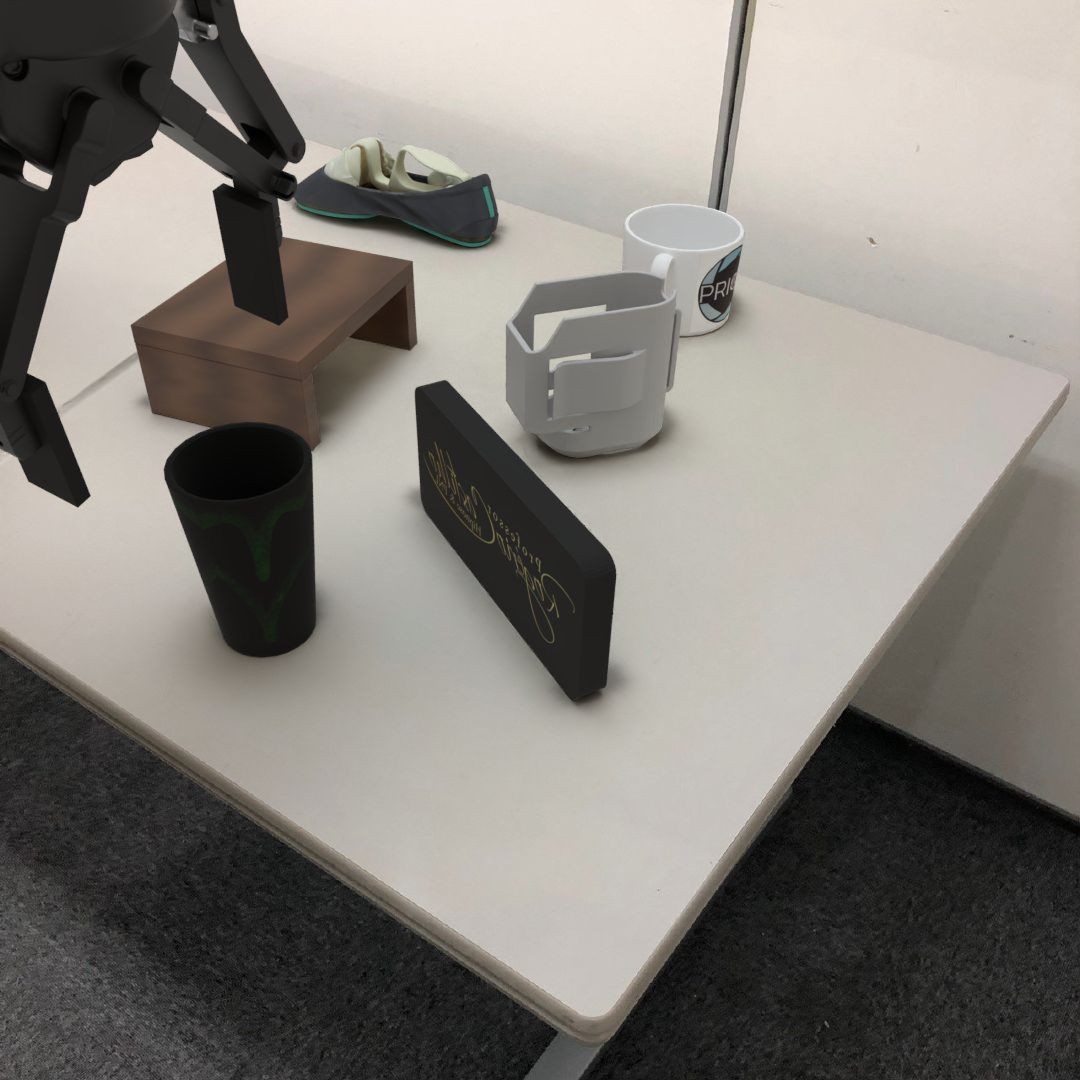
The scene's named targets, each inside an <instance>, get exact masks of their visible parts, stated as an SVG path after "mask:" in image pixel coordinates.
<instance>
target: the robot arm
mask: <svg viewBox="0 0 1080 1080" xmlns="http://www.w3.org/2000/svg"><path fill="white" fill-rule="evenodd" d="M179 44H180V46H181V47H182V49H183V50H184V51H185V53H186V55H187V56H188V58H189V59H190V61H191V62H192V64H193V65H194V67H195V68H196V70H197V72H199V75H201V77H202V79H203V80H204V81H205V83H206V84H207V86H208V87H209V89H210V90H211V92H212V94H213V95H214V96H215V98H216V99H217V101H218V102H219V104H220V106H221V107H222V108H223V110H224V111H225V113H226V114H227V116H228V118H229V119H230V120H231V122H232V124H233V125H234V126H235V127H236V129H237V131H238V132H239V134H240V135H241V137H242V138H243V139H242V138H240V137H239V136H238V135H236V134H235V133H234V132H232V131H231V130H230V129H228V128H227V127H226V126H225V125H224V124H222V123H221V122H220V121H218V120H217V119H216V118H215V117H213V116H211V114H209V113H207V112H208V108H206V107H205V106H204V105H203V104H201V102H199V101H197V100H196V99H195V98H193V97H192V96H191V95H190V94H189V93H188V92H186V91H185V90H183V89H182V88H181V87H179V86H178V85H177V84H176V83H175V82H174V80H173V79H172V74H173V70H174V66H175V62H176V57H177V52H178V49H179ZM157 132H160V133H161V134H163V135H164V136H165V137H167V138H168V139H169V140H171V141H173V142H174V143H176V144H177V145H178V146H180V147H181V148H183V149H184V150H186V151H187V152H188V153H190V154H192V155H193V156H195V157H196V158H198V159H199V160H200V161H201V162H203V163H205V164H206V165H208V166H209V167H211V168H212V169H213V170H215V171H216V172H218V173H219V174H221V175H222V176H223V177H225V178H227V179H229V180H231V181H232V184H233V186H232V185H229V184H227V183H224V182H222V183H221V184H220V185H218V186H216V187H215V188H214V189H213V190H211V191H212V196H213V201H214V206H215V212H216V216H217V223H218V227H219V232H220V238H221V243H222V248H223V253H224V258H225V259H224V260H226V264H227V269H228V275H229V280H230V285H231V290H232V295H233V301H234V306H236V307H238V308H240V309H242V310H245V311H247V312H249V313H251V314H254V315H256V316H258V317H260V318H263V319H265V320H267V321H269V322H272V323H274V324H276V325H278V326H280V325H281V324H282V323H283V322H284V321H285V320H286V319H287V318H289V317H288V310H287V303H286V296H285V289H284V282H283V275H282V268H281V261H280V254H279V247H280V246H281V244H282V237H284V236H283V235H284V234H283V227H282V219H281V213H280V206H279V205H280V204H279V200H281V201H283V202H286V203H287V202H290V201H291V200H292V199H294V198H293V197H294V195H295V193H296V190H297V184H298V178H297V177H296V175H294V174H292V173H290V172H287V171H285V170H284V169H285V168H286V166H288V163H291V164H293V165H297V164H299V163H300V162H301V161H302V160H303V158H304V157H305V154H306V151H307V150H306V149H307V147H306V146H307V143H306V139H305V137H304V136H303V134H302V132H300V129H299V127H298V126H297V125H296V122H295V121H294V119H293V117H292V115H291V113H290V112H289V111H288V109H287V107H286V105H285V104H284V101H283V100H282V98H281V97H280V95H279V93H278V92H277V90H276V88H275V87H274V85H273V83H272V81H271V80H270V78H269V76H268V74H267V73H266V71H265V69H264V68H263V66H262V64H261V62H260V61H259V59H258V57H257V55H256V53H255V52H254V50H253V48H252V47H251V45H250V44H249V41H248V40H247V38H246V37H245V35H244V34H243V32H242V29H241V23H240V21H239V16H238V12H237V8H236V4H235V0H0V450H1V451H3V452H6V454H9V455H11V456H13V457H15V458H16V459H17V461H18V462H19V464H20V467H21V469H22V471H23V473H24V475H25V477H26V480H27V482H28V483H30V484H32V485H33V486H36V487H38V488H40V489H41V490H43V491H45V492H47V493H49V494H51V495H53V496H55V497H56V498H58V499H61V500H62V501H64V502H66V503H68V504H70V505H72V506H74V507H76V508H80V506H82V505H83V504H84V503H85V502H86V501H87V500H88V499H89V498H91V496H92V495H91V493H90V491H89V488H88V485H87V482H86V479H85V478H84V474H83V472H82V470H81V467H80V465H79V462H78V460H77V458H76V455H75V452H74V450H73V448H72V445H71V442H70V440H69V437H68V435H67V431H66V429H65V428H64V424H63V422H62V420H61V417H60V415H59V412H58V410H57V407H56V405H55V402H54V400H53V396H52V394H51V392H50V389H49V387H48V384H47V382H46V381H44V380H42V379H41V378H38V377H37V376H34V375H32V374H30V373H28V371H29V367H30V364H31V360H32V356H33V353H34V350H35V349H34V348H35V345H36V343H37V342H36V341H37V337H38V335H39V330H40V327H41V323H42V319H43V315H44V311H45V308H46V304H47V300H48V296H49V293H50V289H51V285H52V282H53V278H54V275H55V271H56V266H57V263H58V260H59V256H60V251H61V248H62V244H63V240H64V237H65V234H66V229H67V227H68V226H69V225H70V224H73V223H76V222H78V221H79V220H80V219H81V217H82V214H83V213H84V208H85V203H86V201H87V198H88V195H89V189H90V186H91V187H96V186H98V185H99V184H101V183H103V182H104V181H106V180H107V179H109V178H110V177H111V176H112V175H113V174H114V172H116V170H117V169H118V168H119V167H120V166H121V165H122V164H123V163H124V162H125V161H129V160H133V159H136V158H139V157H142V156H143V155H144V154H146V153H147V152H149V151H151V149H154V143H153V139H154V137H155V136H156V134H157ZM25 163H28V164H30V165H31V166H33V167H34V168H36V169H37V170H39V171H41V172H43V173H45V174H46V175H47V174H48V175H50V176H51V179H50V182H49V185H48V188H45V187H43V186H40V185H39V184H36V183H33V182H31V181H29V180H27V179H26V178H25V175H24V168H25Z"/></svg>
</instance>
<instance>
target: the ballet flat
mask: <svg viewBox="0 0 1080 1080" xmlns="http://www.w3.org/2000/svg"><path fill="white" fill-rule="evenodd" d="M407 153H408V154H409V155H411V156H412V158H413V159H414V160H415V161H417V162H418V163H419V164H421V165H422V166H424V167H426V168H428V169H430V170H432V171H431V172H430V173H429V174H428V175H424V174H418V173H413V172H410V171H406V168H405V157H406V154H407ZM292 199H294V200H295V202H296V204H297V207H299V208H300V209H302V210H305V211H308V212H310V213H314V214H317V215H321V216H327V217H334V218H344V219H345V218H346V219H370V218H375V217H377V216H382V217H388V218H393V219H397V220H401V222H404V223H406V224H408V225H410V226H413V227H415V228H417V229H420V230H422V231H424V232H427V233H429V234H431V235H434V236H436V237H439V238H441V239H443V240H446V241H449V242H451V243H454V244H457V245H460V246H463V247H469V248H477V247H482V246H484V245H487V244H488V243H489V242H490V241H491V239H492V236H493V233H494V232H496V230H497V228H498V224H499V218H500V215H499V214H500V213H499V212H498V205H497V200H496V196H495V193H494V190H493V185H492V180H491V177H490V175H489V174H488V173H481V174H479V175H476V176H471V175H470V174H469V173H467V172H465V171H464V170H463V169H461V167H459V165H458V164H457V163H455V162H454V161H452V160H451V159H450V158H448V157H446V156H444V155H442V154H440V153H438V152H435V151H432V150H430V149H426V148H422V147H418V146H415V145H412V144H406V145H404V146H402V147H401V148H399V150H398V151H397V154H396V157H393V154H391V153H389V152H388V151H387V150H386V149H385V148H384V144H383V143H382V141H381V139H379V138H378V137H371V136H368V137H365V138H364V137H363V138H360V139H358V140H357V141H356V142H354V143H353V144H351V145H349V146H344V147H343V148H342V150H341V151H340V154H338V155H335V156H333V157H332V158H331V159H330V160H329V161H328V162H327V163H325V164H324V165H322V167H320V168H318V169H316V170H315V171H314V172H313V173H311V174H309V175H308V176H307V177H305V178H304V179H302V180H301V181H300V182H298V183H297V190H296V193H295V195H294V197H293V198H292Z"/></svg>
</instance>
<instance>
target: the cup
mask: <svg viewBox="0 0 1080 1080" xmlns="http://www.w3.org/2000/svg"><path fill="white" fill-rule="evenodd" d="M313 466H314V463H313V452H312V451H311V449H310V446H309V444H308V443H307V442H306V441H305V440H304V438H303V437H301V436H300V435H298V434H297V433H295V432H294V431H292V430H290V429H287V428H284V427H282V426H279V425H274V424H269V423H263V422H241V423H230V424H226V425H221V426H216V427H209V428H208V429H205V430H202V431H200V432H197V433H196V434H194V435H191V436H190V437H188V438H186V439H185V440H183V441H182V442H181V443H180V444H178V445H177V446H176V447H175V448H174V449H173V450H172V451H171V453H170V454H169V455H168V456H167V458H166V461H165V464H164V467H163V477H164V482H165V483H166V486H167V489H168V492H169V494H170V497H171V500H172V503H173V505H174V508H175V511H176V514H177V516H178V519H179V522H180V524H181V528H182V531H183V533H184V536H185V538H186V540H187V543H188V546H189V549H190V552H191V555H192V557H193V560H194V562H195V566H196V568H197V571H198V573H199V577H200V578H201V582H202V584H203V587H204V590H205V592H206V595H207V598H208V600H209V603H210V606H211V608H212V611H213V614H214V617H215V619H216V622H217V625H218V627H219V628H218V629H219V630H220V634H221V635H222V638H223V640H224V642H225V643H226V645H227V646H228V647H229V648H230V649H231V650H233V651H235V652H237V653H239V654H241V655H244V656H248V657H252V658H270V657H276V656H279V655H283V654H287V653H289V652H291V651H293V650H296V649H298V648H299V647H301V645H303V644H304V643H305V642H306V641H307V640H308V639H309V638H310V637H311V635H312V634H313V632H314V630H315V629H316V624H317V596H316V595H317V594H316V593H317V592H316V591H317V590H316V588H317V587H316V549H315V548H316V547H315V545H316V544H315V510H314V509H315V507H314V506H315V505H314V503H315V502H314V469H313Z"/></svg>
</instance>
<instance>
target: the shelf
mask: <svg viewBox="0 0 1080 1080" xmlns="http://www.w3.org/2000/svg"><path fill="white" fill-rule="evenodd" d="M279 254H280V261H281V268H282V275H283V282H284V289H285V296H286V303H287V310H288V317H289V318H287V319H286V320H285V321H284V322H283V323H282V324H281V325H280V326H278V325H276V324H274V323H272V322H269V321H267V320H265V319H263V318H260V317H258V316H256V315H254V314H251V313H249V312H247V311H245V310H242V309H240V308H238V307H236V306H234V301H233V295H232V290H231V285H230V280H229V275H228V269H227V264H226V259H224V260H223V261H222V262H220V263H219V264H217V265H216V266H214V267H213V268H211V269H210V270H208V271H207V272H206V273H204V274H202V275H201V276H199V277H198V278H197V279H195V280H194V281H192V282H191V283H189V284H188V285H186V286H185V287H183V288H182V289H180V290H179V291H178V292H176V293H175V294H173V295H172V296H170V297H169V298H167V299H165V301H163V302H162V303H160V304H159V305H157V306H156V307H154V308H153V309H151V310H150V311H149V312H147V313H145V314H144V315H143V316H141V317H140V318H138V319H137V320H136V321H134V322H132V323H130V329H131V333H132V337H133V341H134V342H133V343H134V345H135V349H136V353H137V357H138V362H139V365H140V370H141V374H142V377H143V382H144V386H145V391H146V394H147V398H148V402H149V406H150V407H149V408H150V410H151V413H153V414H157V415H160V416H161V415H162V416H164V417H170V418H173V419H176V420H181V421H185V422H189V423H192V424H193V423H194V424H198V425H201V426H205V427H209V428H213V427H216V426H221V425H226V424H230V423H241V422H263V423H269V424H274V425H279V426H282V427H284V428H287V429H290V430H292V431H294V432H295V433H297V434H298V435H300V436H301V437H303V438H304V440H305V441H306V442H307V443H308V444H309V446H310V449H311V452H312V451H313V450H314V449H315V448H316V447H317V446H318V445H319V444H320V443H321V441H322V440H321V439H322V438H321V431H320V424H319V417H318V409H317V400H316V393H315V386H314V385H315V384H314V378H313V371H314V370H315V369H316V368H317V367H318V366H319V365H320V364H321V363H322V362H324V361H325V360H326V359H327V358H328V357H329V356H330V355H331V354H333V352H335V350H337V349H338V348H339V347H340V346H341V345H342V344H343V343H344V342H345V341H347V339H354V340H358V341H363V342H368V343H373V344H377V345H383V346H387V347H391V348H396V349H400V350H406V351H411V350H412V349H413V348H414V347H415V346H416V345H417V344H418V331H417V330H418V329H417V314H416V313H417V311H416V297H415V294H416V293H415V277H414V276H415V275H414V261H413V260H409V259H403V258H398V257H393V256H387V255H382V254H379V253H371V252H367V251H361V250H356V249H351V248H346V247H340V246H339V247H338V246H334V245H329V244H323V243H318V242H313V241H307V240H302V239H296V238H291V237H286V236H282V244H281V246H280V247H279Z"/></svg>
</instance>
